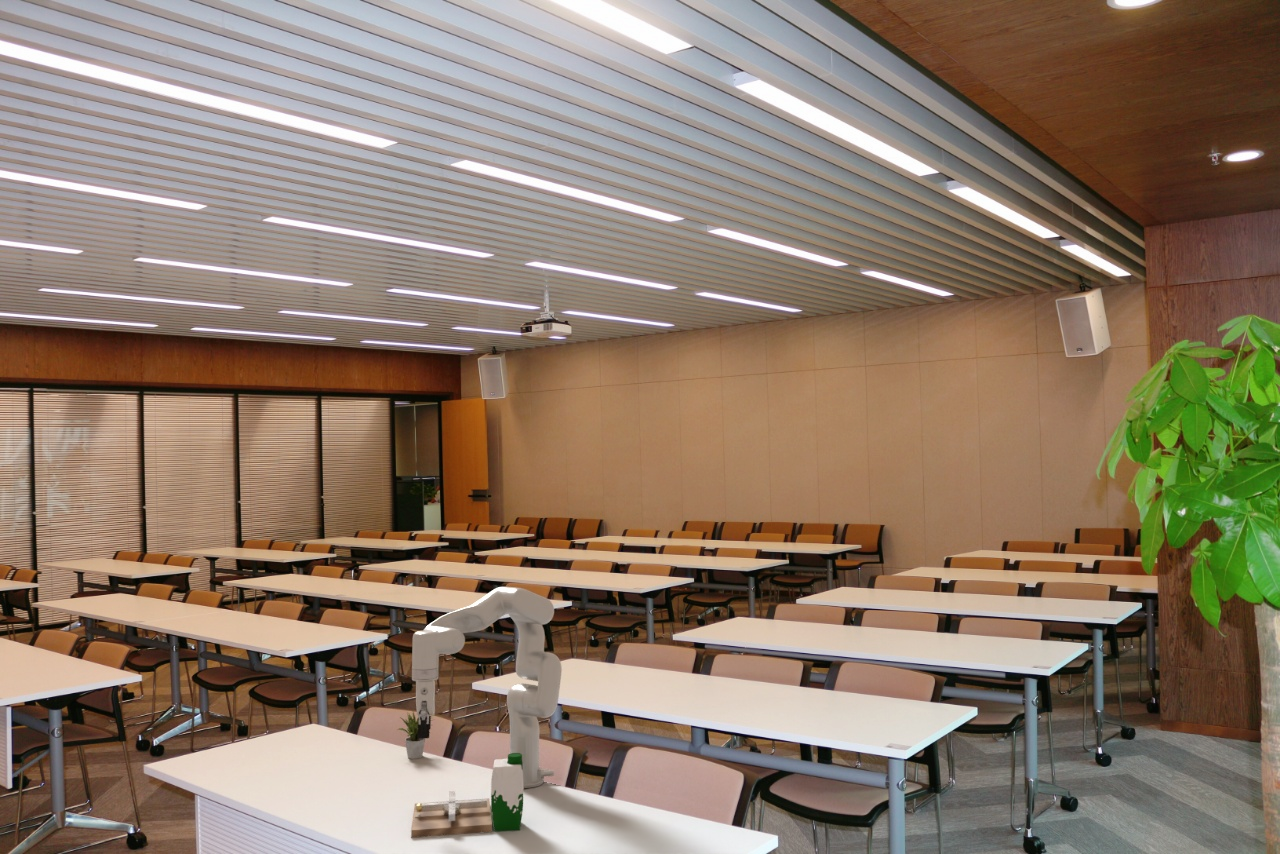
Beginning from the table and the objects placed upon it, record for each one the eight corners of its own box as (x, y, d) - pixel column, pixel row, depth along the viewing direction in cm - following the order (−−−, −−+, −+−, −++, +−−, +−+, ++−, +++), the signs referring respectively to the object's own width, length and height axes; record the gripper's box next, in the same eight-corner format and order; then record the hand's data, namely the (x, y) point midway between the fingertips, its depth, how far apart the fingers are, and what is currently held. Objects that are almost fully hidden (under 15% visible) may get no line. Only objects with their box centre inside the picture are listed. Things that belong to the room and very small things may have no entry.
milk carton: (522, 831, 267) (522, 759, 268) (490, 833, 267) (490, 760, 268) (523, 820, 276) (523, 750, 277) (492, 821, 275) (492, 751, 276)
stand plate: (489, 805, 289) (489, 797, 289) (491, 831, 268) (491, 823, 268) (414, 810, 285) (414, 802, 285) (411, 837, 263) (411, 829, 263)
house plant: (430, 763, 331) (430, 716, 332) (390, 763, 331) (391, 716, 332) (439, 751, 346) (439, 706, 346) (401, 751, 346) (401, 706, 347)
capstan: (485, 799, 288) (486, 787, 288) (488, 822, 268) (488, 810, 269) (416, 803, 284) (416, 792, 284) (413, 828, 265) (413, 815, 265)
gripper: (437, 679, 270) (436, 741, 269) (439, 668, 287) (438, 726, 286) (410, 680, 269) (409, 742, 267) (413, 668, 286) (412, 727, 284)
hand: (424, 733), depth 277 cm, fingers open, 9 cm apart
